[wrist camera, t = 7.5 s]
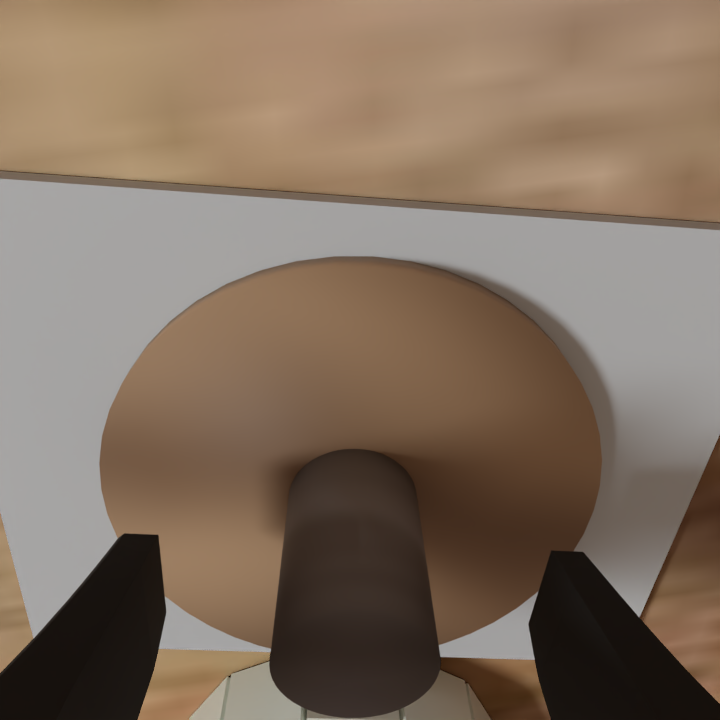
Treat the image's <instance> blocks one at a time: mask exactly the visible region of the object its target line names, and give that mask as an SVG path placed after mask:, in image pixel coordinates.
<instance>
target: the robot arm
mask: <svg viewBox="0 0 720 720" xmlns="http://www.w3.org/2000/svg"><path fill="white" fill-rule="evenodd" d="M165 617H166V603H165V594H164V584H163V574H162V565H161V555H160V545H159V536H158V535H152V534H128V533H124V534H123V535H121V536H120V537H119V538H118V539H117V540H116V541H115V543H114V544H113V545H112V546H111V548H110V549H109V550H108V552H107V553H106V554H105V555H104V557H103V558H102V559H101V560H100V562H99V563H98V564H97V565H96V567H95V568H94V569H93V570H92V572H91V573H90V574H89V575H88V577H87V578H86V579H85V580H84V581H83V583H82V584H81V585H80V586H79V587H78V589H77V590H76V591H75V592H74V593H73V594H72V596H71V597H70V598H69V599H68V600H67V601H66V603H65V604H64V605H63V606H62V607H61V608H60V609H59V611H58V612H57V613H56V614H55V615H54V616H53V617H52V618H51V620H50V621H49V622H48V623H47V624H46V625H45V626H44V628H43V629H42V630H41V631H40V632H39V633H38V634H37V635H36V636H35V638H34V639H33V640H32V641H31V642H30V643H29V644H28V645H27V646H26V647H25V648H24V649H23V650H22V651H21V652H20V653H19V654H18V655H17V656H16V658H15V659H14V660H13V661H12V662H11V663H10V664H9V665H8V666H7V667H6V668H5V669H4V670H3V671H2V672H1V673H0V720H137V719H138V716H139V713H140V710H141V707H142V704H143V701H144V698H145V695H146V692H147V689H148V686H149V683H150V680H151V677H152V674H153V671H154V667H155V662H156V658H157V654H158V649H159V645H160V640H161V636H162V631H163V626H164V622H165ZM528 626H529V631H530V637H531V642H532V648H533V653H534V658H535V663H536V668H537V673H538V678H539V682H540V685H541V688H542V692H543V695H544V698H545V701H546V705H547V708H548V711H549V714H550V717H551V720H720V704H719V703H718V702H717V701H716V700H715V699H714V698H713V697H712V696H711V695H710V694H709V693H708V692H707V691H706V690H705V689H704V688H703V687H702V686H701V685H700V684H699V683H698V682H697V680H696V679H695V678H694V677H693V676H692V675H691V674H690V673H689V672H688V671H687V670H686V669H685V668H684V667H683V666H682V665H681V664H680V663H679V661H678V660H677V659H676V658H675V657H674V656H673V655H672V654H671V653H670V652H669V650H668V649H667V648H666V647H665V646H664V645H663V644H662V643H661V642H660V640H659V639H658V638H657V637H656V636H655V635H654V634H653V633H652V632H651V630H650V629H649V628H648V627H647V626H646V625H645V624H644V622H643V621H642V620H641V619H640V618H639V617H638V616H637V614H636V613H635V612H634V611H633V610H632V608H631V607H630V606H629V605H628V604H627V603H626V601H625V600H624V599H623V598H622V597H621V596H620V594H619V593H618V592H617V591H616V590H615V589H614V587H613V586H612V585H611V584H610V583H609V581H608V580H607V579H606V578H605V577H604V576H603V574H602V573H601V572H600V571H599V570H598V568H597V567H596V566H595V565H594V564H593V563H592V561H591V560H590V559H589V558H588V557H587V556H586V554H585V553H584V552H577V551H552V550H551V553H550V556H549V559H548V562H547V566H546V569H545V572H544V575H543V578H542V582H541V585H540V588H539V591H538V594H537V598H536V601H535V604H534V607H533V610H532V614H531V617H530V620H529V623H528Z"/></svg>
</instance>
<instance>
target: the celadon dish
mask: <svg viewBox="0 0 720 720" xmlns="http://www.w3.org/2000/svg"><path fill="white" fill-rule="evenodd" d="M269 662H270V661H269ZM269 662H266V663H263V664H260V665H257V666H254V667H251V668H248V669H245V670H242V671H239V672H236V673H233V674H231V678H230V677H228V676H227V678H226V679H225V680H224V681H223V682H222V683H221V684H220V685H219V686H218V687H217V688H216V690H215V691H214V692H213V693H212V694H211V695H210V696H209V697H208V698H207V699H206V700H205V702H204V703H203V704H202V705H201V706H200V707H199V708H198V709H197V710H196V711H195V712H194V714H193V715H192V716H191V717H190V718H189V720H491V718H490V717H489V715H488V714H487V712H486V711H485V709H484V708H483V706H482V704H481V703H480V701H479V700H478V698H477V697H476V695H475V693H474V692H473V690H472V689H471V687H470V686H469V684H468V683H466V684H465V680H462V679H460V678H458V677H455V676H453V675H451V674H449V673H446V672H444V671H442V670H440V671H439V674H438V677H437V679H436V681H435V683H434V684H433V685H432V687H431V688H430V689H429V690H428V691H427V692H426V693H425V694H424V695H423V696H422V697H421V698H419V699H418V700H417V701H415V702H413V703H412V704H410V705H408V706H406V707H404V708H402V709H399V710H396V711H394V712H391V713H387V714H383V715H379V716H373V717H364V718H341V717H333V716H327V715H323V714H319V713H316V712H313V711H310V710H307V709H305V708H303V707H300V706H299V705H297V704H295V703H293V702H292V701H291V700H289V699H288V698H287V697H285V696H284V695H283V694H282V693H281V692H280V691H279V689H278V688H277V687H276V685H275V683H274V682H273V680H272V677H271V674H270V668H269Z"/></svg>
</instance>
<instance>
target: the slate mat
mask: <svg viewBox="0 0 720 720" xmlns="http://www.w3.org/2000/svg"><path fill="white" fill-rule="evenodd" d="M333 256H374V257H382V258H389V259H397V260H405V261H412V262H415V263H419V264H423V265H427V266H431V267H435V268H439V269H442V270H446V271H449V272H451V273H454V274H456V275H458V276H461V277H463V278H466V279H468V280H471V281H473V282H476V283H478V284H480V285H482V286H484V287H485V288H487V289H489V290H491V291H492V292H494V293H496V294H498V295H499V296H501V297H503V298H505V299H506V300H508V301H509V302H511V303H512V304H513V305H515V306H516V307H517V308H518V309H520V310H521V311H522V312H523V313H525V314H526V315H527V316H529V317H530V318H531V319H532V320H534V321H535V322H536V323H537V324H538V326H539V327H540V328H541V329H542V330H543V331H544V332H545V333H546V334H547V335H548V336H549V337H550V338H551V339H552V340H553V341H554V343H555V344H556V345H557V347H558V348H559V350H560V351H561V353H562V354H563V356H564V357H565V358H566V360H567V361H568V363H569V364H570V366H571V367H572V369H573V370H574V372H575V374H576V375H577V377H578V378H579V380H580V382H581V384H582V386H583V388H584V390H585V392H586V394H587V397H588V399H589V401H590V403H591V405H592V407H593V411H594V414H595V418H596V422H597V426H598V430H599V433H600V443H601V454H602V467H601V479H600V488H599V492H598V496H597V500H596V504H595V508H594V511H593V514H592V516H591V518H590V521H589V523H588V525H587V528H586V530H585V532H584V534H583V536H582V538H581V539H580V541H579V543H578V544H577V546H576V548H575V549H574V551H577V552H584V553H585V554H586V556H587V557H588V558H589V559H590V560H591V561H592V563H593V564H594V565H595V566H596V567H597V568H598V570H599V571H600V572H601V573H602V574H603V576H604V577H605V578H606V579H607V580H608V581H609V583H610V584H611V585H612V586H613V587H614V589H615V590H616V591H617V592H618V593H619V594H620V596H621V597H622V598H623V599H624V600H625V601H626V603H627V604H628V605H629V606H630V607H631V608H632V610H633V611H634V612H635V613H636V614H637V616H638V617H640V615H641V613H642V611H643V608H644V606H645V604H646V602H647V599H648V597H649V595H650V592H651V590H652V588H653V586H654V583H655V581H656V579H657V576H658V574H659V572H660V570H661V567H662V565H663V563H664V560H665V558H666V556H667V554H668V551H669V549H670V547H671V545H672V542H673V540H674V538H675V535H676V533H677V531H678V529H679V526H680V524H681V522H682V519H683V517H684V515H685V513H686V510H687V508H688V506H689V503H690V501H691V499H692V497H693V494H694V492H695V490H696V488H697V485H698V483H699V481H700V478H701V476H702V474H703V472H704V469H705V467H706V465H707V462H708V460H709V458H710V456H711V453H712V451H713V449H714V446H715V444H716V442H717V440H718V437H719V435H720V223H710V222H697V221H683V220H669V219H655V218H642V217H628V216H614V215H600V214H586V213H573V212H559V211H545V210H531V209H518V208H504V207H490V206H476V205H462V204H449V203H435V202H421V201H407V200H394V199H380V198H366V197H352V196H338V195H325V194H311V193H297V192H283V191H270V190H256V189H242V188H228V187H214V186H201V185H187V184H173V183H159V182H146V181H132V180H118V179H104V178H90V177H77V176H63V175H49V174H35V173H22V172H8V171H0V513H1V517H2V521H3V524H4V528H5V532H6V536H7V539H8V543H9V547H10V551H11V555H12V558H13V562H14V566H15V570H16V573H17V577H18V581H19V585H20V589H21V592H22V596H23V600H24V604H25V608H26V611H27V615H28V619H29V623H30V626H31V630H32V634H33V638H35V636H36V635H37V634H38V633H39V632H40V631H41V630H42V629H43V628H44V626H45V625H46V624H47V623H48V622H49V621H50V620H51V618H52V617H53V616H54V615H55V614H56V613H57V612H58V611H59V609H60V608H61V607H62V606H63V605H64V604H65V603H66V601H67V600H68V599H69V598H70V597H71V596H72V594H73V593H74V592H75V591H76V590H77V589H78V587H79V586H80V585H81V584H82V583H83V581H84V580H85V579H86V578H87V577H88V575H89V574H90V573H91V572H92V570H93V569H94V568H95V567H96V565H97V564H98V563H99V562H100V560H101V559H102V558H103V557H104V555H105V554H106V553H107V552H108V550H109V549H110V548H111V546H112V545H113V544H114V543H115V541H116V540H117V539H118V538H117V536H116V533H115V531H114V529H113V526H112V524H111V522H110V519H109V517H108V514H107V511H106V507H105V503H104V499H103V495H102V490H101V480H100V467H99V461H100V450H101V440H102V434H103V431H104V427H105V424H106V420H107V416H108V413H109V410H110V407H111V405H112V403H113V401H114V399H115V397H116V395H117V393H118V391H119V389H120V386H121V384H122V382H123V381H124V379H125V377H126V376H127V374H128V372H129V371H130V369H131V368H132V366H133V365H134V363H135V362H136V360H137V359H138V357H139V356H140V355H141V353H142V352H143V350H144V349H145V347H146V346H147V345H148V343H149V342H150V341H151V340H152V339H153V338H154V337H155V336H156V335H157V334H158V333H159V332H160V331H161V330H162V329H163V328H164V327H165V326H166V325H167V324H168V323H169V322H170V321H171V320H172V319H173V318H175V317H176V316H177V315H179V314H180V313H181V312H183V311H184V310H185V309H186V308H188V307H189V306H190V305H192V304H193V303H194V302H196V301H197V300H199V299H201V298H202V297H204V296H206V295H208V294H209V293H211V292H213V291H215V290H217V289H218V288H220V287H222V286H224V285H225V284H227V283H230V282H232V281H235V280H237V279H240V278H242V277H245V276H247V275H250V274H252V273H255V272H257V271H260V270H264V269H268V268H271V267H275V266H279V265H283V264H287V263H291V262H295V261H301V260H309V259H317V258H325V257H333ZM537 594H538V592H537V593H536V594H534V595H533V596H532V597H531V598H529V599H528V600H527V601H525V602H524V603H523V604H522V605H520V606H519V607H518V608H516V609H515V610H513V611H512V612H510V613H508V614H507V615H505V616H503V617H502V618H500V619H498V620H497V621H495V622H494V623H492V624H489V625H487V626H485V627H483V628H481V629H479V630H477V631H475V632H473V633H471V634H469V635H466V636H463V637H461V638H458V639H455V640H453V641H450V642H447V643H444V644H441V645H439V651H440V657H458V658H492V659H526V660H535V658H534V653H533V648H532V642H531V637H530V631H529V626H528V623H529V620H530V617H531V614H532V610H533V607H534V604H535V601H536V598H537ZM165 603H166V617H165V622H164V626H163V631H162V636H161V640H160V645H159V649H186V650H220V651H254V652H271V649H270V648H266V647H262V646H258V645H255V644H253V643H250V642H247V641H244V640H241V639H238V638H235V637H233V636H230V635H228V634H226V633H224V632H222V631H220V630H217V629H215V628H213V627H211V626H209V625H207V624H205V623H204V622H202V621H200V620H199V619H197V618H195V617H194V616H192V615H190V614H188V613H187V612H185V611H184V610H183V609H181V608H180V607H179V606H177V605H176V604H175V603H173V602H172V601H171V600H169V599H168V598H167V597H165Z"/></svg>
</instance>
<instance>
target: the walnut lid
mask: <svg viewBox="0 0 720 720" xmlns="http://www.w3.org/2000/svg"><path fill="white" fill-rule="evenodd" d="M99 467H100V480H101V490H102V495H103V499H104V503H105V507H106V511H107V514H108V517H109V519H110V522H111V524H112V526H113V529H114V531H115V533H116V536H117V538H119V537H120V536H121V535H123V534H124V533H128V534H152V535H158V536H159V545H160V555H161V565H162V574H163V584H164V594H165V597H167V598H168V599H169V600H171V601H172V602H173V603H175V604H176V605H177V606H179V607H180V608H181V609H183V610H184V611H185V612H187V613H188V614H190V615H192V616H194V617H195V618H197V619H199V620H200V621H202V622H204V623H205V624H207V625H209V626H211V627H213V628H215V629H217V630H220V631H222V632H224V633H226V634H228V635H230V636H233V637H235V638H238V639H241V640H244V641H247V642H250V643H253V644H255V645H258V646H262V647H266V648H270V649H271V653H270V662H269V668H270V674H271V677H272V680H273V682H274V683H275V685H276V687H277V688H278V689H279V691H280V692H281V693H282V694H283V695H284V696H285V697H287V698H288V699H289V700H291V701H292V702H293V703H295V704H297V705H299V706H300V707H303V708H305V709H307V710H310V711H313V712H316V713H319V714H323V715H327V716H333V717H341V718H364V717H373V716H379V715H383V714H387V713H391V712H394V711H396V710H399V709H402V708H404V707H406V706H408V705H410V704H412V703H413V702H415V701H417V700H418V699H419V698H421V697H422V696H423V695H424V694H425V693H426V692H427V691H428V690H429V689H430V688H431V687H432V685H433V684H434V683H435V681H436V679H437V677H438V674H439V671H440V666H441V659H440V651H439V645H441V644H444V643H447V642H450V641H453V640H455V639H458V638H461V637H463V636H466V635H469V634H471V633H473V632H475V631H477V630H479V629H481V628H483V627H485V626H487V625H489V624H492V623H494V622H495V621H497V620H498V619H500V618H502V617H503V616H505V615H507V614H508V613H510V612H512V611H513V610H515V609H516V608H518V607H519V606H520V605H522V604H523V603H524V602H525V601H527V600H528V599H529V598H531V597H532V596H533V595H534V594H536V593H537V592H538V591H539V588H540V585H541V582H542V578H543V575H544V572H545V569H546V566H547V562H548V559H549V556H550V553H551V550H552V551H574V549H575V548H576V546H577V544H578V543H579V541H580V539H581V538H582V536H583V534H584V532H585V530H586V528H587V525H588V523H589V521H590V518H591V516H592V514H593V511H594V508H595V504H596V500H597V496H598V492H599V488H600V479H601V467H602V454H601V443H600V433H599V430H598V426H597V422H596V418H595V414H594V411H593V407H592V405H591V403H590V401H589V399H588V397H587V394H586V392H585V390H584V388H583V386H582V384H581V382H580V380H579V378H578V377H577V375H576V374H575V372H574V370H573V369H572V367H571V366H570V364H569V363H568V361H567V360H566V358H565V357H564V356H563V354H562V353H561V351H560V350H559V348H558V347H557V345H556V344H555V343H554V341H553V340H552V339H551V338H550V337H549V336H548V335H547V334H546V333H545V332H544V331H543V330H542V329H541V328H540V327H539V326H538V324H537V323H536V322H535V321H534V320H532V319H531V318H530V317H529V316H527V315H526V314H525V313H523V312H522V311H521V310H520V309H518V308H517V307H516V306H515V305H513V304H512V303H511V302H509V301H508V300H506V299H505V298H503V297H501V296H499V295H498V294H496V293H494V292H492V291H491V290H489V289H487V288H485V287H484V286H482V285H480V284H478V283H476V282H473V281H471V280H468V279H466V278H463V277H461V276H458V275H456V274H454V273H451V272H449V271H446V270H442V269H439V268H435V267H431V266H427V265H423V264H419V263H415V262H412V261H405V260H397V259H389V258H382V257H374V256H333V257H325V258H317V259H309V260H301V261H295V262H291V263H287V264H283V265H279V266H275V267H271V268H268V269H264V270H260V271H257V272H255V273H252V274H250V275H247V276H245V277H242V278H240V279H237V280H235V281H232V282H230V283H227V284H225V285H224V286H222V287H220V288H218V289H217V290H215V291H213V292H211V293H209V294H208V295H206V296H204V297H202V298H201V299H199V300H197V301H196V302H194V303H193V304H192V305H190V306H189V307H188V308H186V309H185V310H184V311H183V312H181V313H180V314H179V315H177V316H176V317H175V318H173V319H172V320H171V321H170V322H169V323H168V324H167V325H166V326H165V327H164V328H163V329H162V330H161V331H160V332H159V333H158V334H157V335H156V336H155V337H154V338H153V339H152V340H151V341H150V342H149V343H148V345H147V346H146V347H145V349H144V350H143V352H142V353H141V355H140V356H139V357H138V359H137V360H136V362H135V363H134V365H133V366H132V368H131V369H130V371H129V372H128V374H127V376H126V377H125V379H124V381H123V382H122V384H121V386H120V389H119V391H118V393H117V395H116V397H115V399H114V401H113V403H112V405H111V407H110V410H109V413H108V416H107V420H106V424H105V427H104V431H103V434H102V440H101V450H100V461H99Z"/></svg>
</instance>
